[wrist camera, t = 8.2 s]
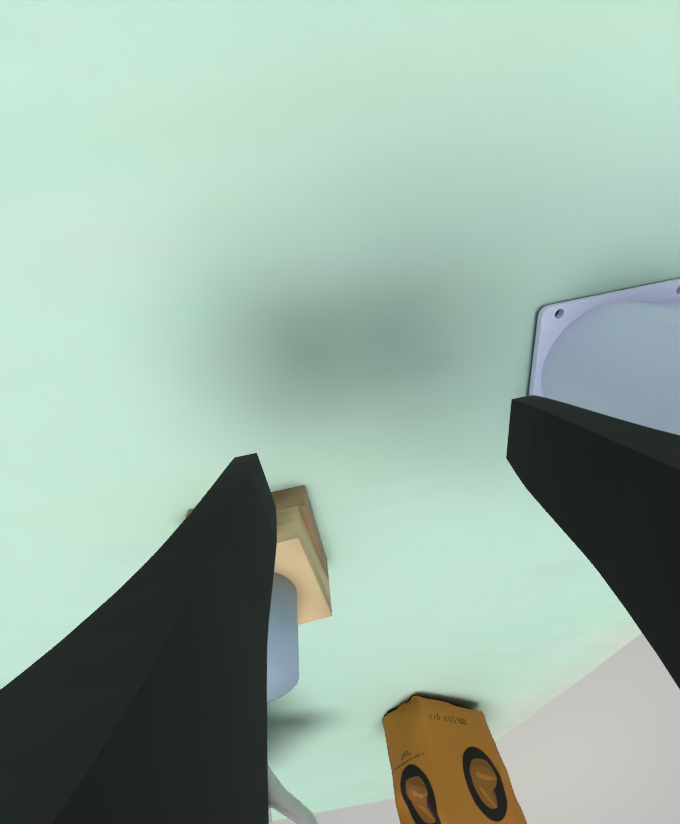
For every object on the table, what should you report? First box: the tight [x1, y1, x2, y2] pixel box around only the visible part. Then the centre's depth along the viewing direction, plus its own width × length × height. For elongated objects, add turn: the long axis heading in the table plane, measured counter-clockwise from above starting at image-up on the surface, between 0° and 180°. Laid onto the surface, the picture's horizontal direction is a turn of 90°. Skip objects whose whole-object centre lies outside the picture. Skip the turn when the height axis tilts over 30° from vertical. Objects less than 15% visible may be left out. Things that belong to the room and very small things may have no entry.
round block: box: [267, 573, 299, 702], centre depth 19 cm, size 5×5×4 cm
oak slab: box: [274, 506, 332, 624], centre depth 22 cm, size 8×8×2 cm
